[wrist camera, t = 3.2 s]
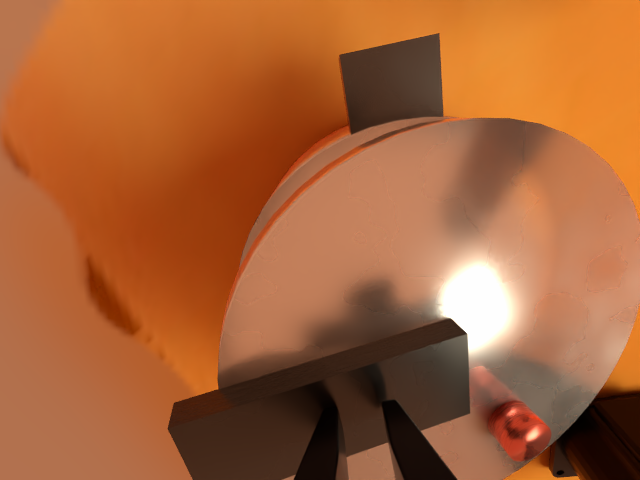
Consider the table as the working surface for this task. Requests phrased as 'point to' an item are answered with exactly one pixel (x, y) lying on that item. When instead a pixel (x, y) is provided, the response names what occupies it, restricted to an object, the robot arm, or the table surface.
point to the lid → (424, 305)
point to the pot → (370, 109)
